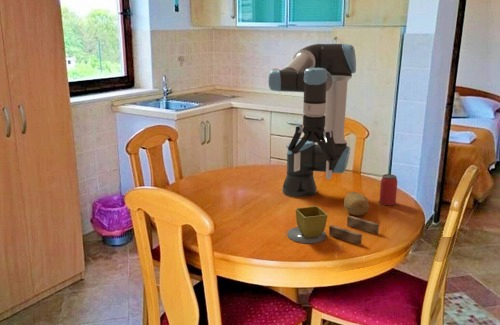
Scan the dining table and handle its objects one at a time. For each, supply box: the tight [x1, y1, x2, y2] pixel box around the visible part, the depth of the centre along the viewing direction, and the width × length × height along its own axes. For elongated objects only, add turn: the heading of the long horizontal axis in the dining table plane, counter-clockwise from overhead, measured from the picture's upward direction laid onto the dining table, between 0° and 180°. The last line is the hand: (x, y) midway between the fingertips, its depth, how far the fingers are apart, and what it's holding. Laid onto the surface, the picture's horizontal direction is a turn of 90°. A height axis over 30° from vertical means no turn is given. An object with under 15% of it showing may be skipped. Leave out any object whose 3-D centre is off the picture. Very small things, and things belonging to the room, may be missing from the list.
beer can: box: [379, 173, 398, 207], centre depth 205 cm, size 7×7×12 cm
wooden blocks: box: [328, 215, 380, 246], centre depth 176 cm, size 12×14×4 cm
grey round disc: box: [286, 226, 327, 245], centre depth 176 cm, size 14×14×1 cm
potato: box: [343, 191, 370, 216], centre depth 195 cm, size 10×14×8 cm
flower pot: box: [294, 205, 328, 238], centre depth 174 cm, size 9×9×9 cm
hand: (312, 174), depth 173 cm, fingers open, 13 cm apart
